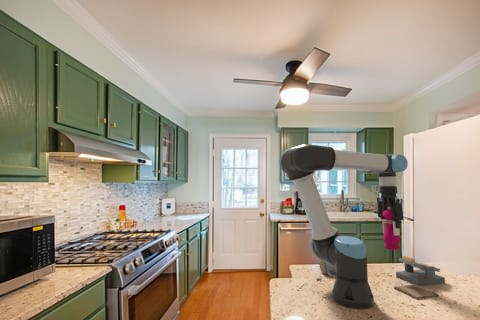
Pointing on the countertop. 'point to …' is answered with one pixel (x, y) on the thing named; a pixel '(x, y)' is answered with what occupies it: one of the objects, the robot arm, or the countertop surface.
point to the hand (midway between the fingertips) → (391, 233)
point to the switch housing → (420, 276)
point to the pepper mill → (390, 232)
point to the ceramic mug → (327, 268)
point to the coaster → (416, 291)
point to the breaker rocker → (415, 263)
